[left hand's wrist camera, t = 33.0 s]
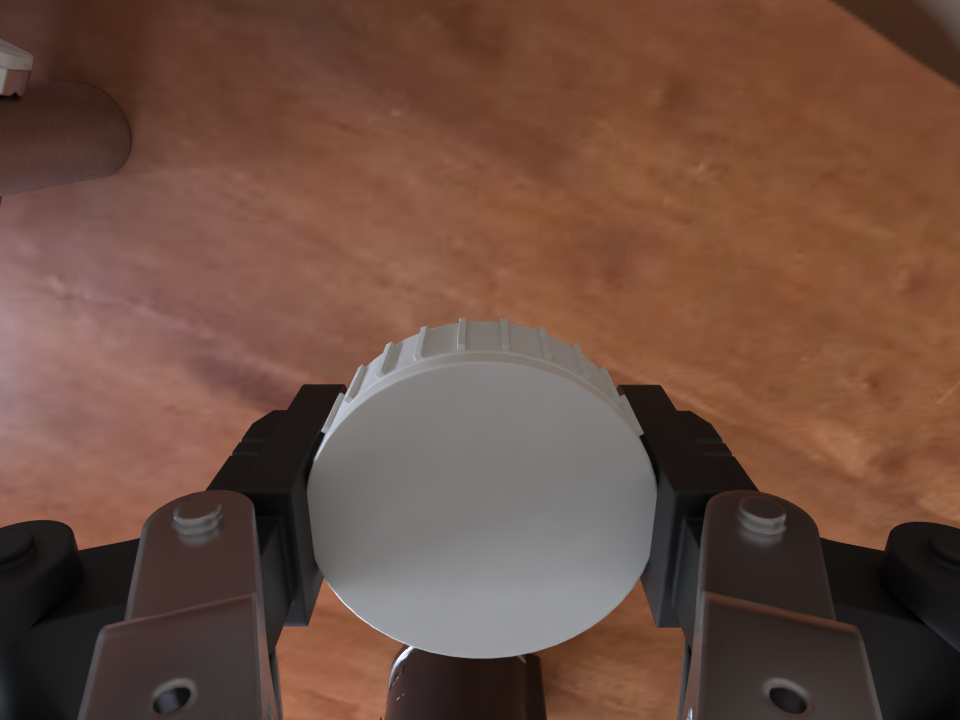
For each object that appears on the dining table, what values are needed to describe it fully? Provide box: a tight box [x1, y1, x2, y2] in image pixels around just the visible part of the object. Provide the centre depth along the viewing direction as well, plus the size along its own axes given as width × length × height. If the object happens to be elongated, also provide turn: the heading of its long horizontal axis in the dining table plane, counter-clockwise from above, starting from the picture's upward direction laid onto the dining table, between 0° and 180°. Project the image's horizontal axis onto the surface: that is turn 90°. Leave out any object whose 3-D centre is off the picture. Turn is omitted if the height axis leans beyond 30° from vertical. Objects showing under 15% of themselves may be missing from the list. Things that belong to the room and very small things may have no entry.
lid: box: [307, 318, 657, 658], centre depth 10 cm, size 5×5×2 cm
